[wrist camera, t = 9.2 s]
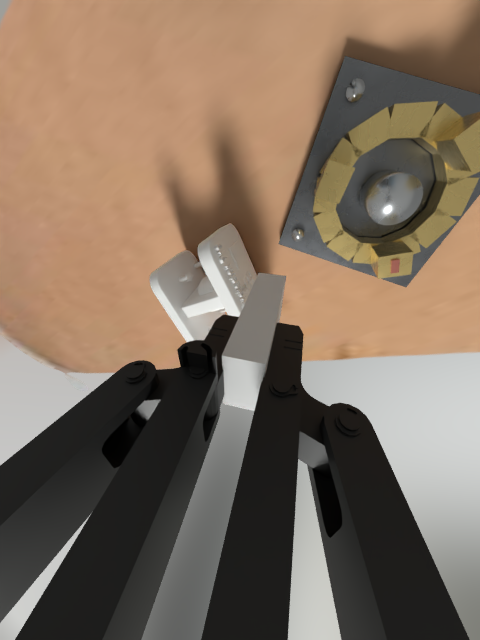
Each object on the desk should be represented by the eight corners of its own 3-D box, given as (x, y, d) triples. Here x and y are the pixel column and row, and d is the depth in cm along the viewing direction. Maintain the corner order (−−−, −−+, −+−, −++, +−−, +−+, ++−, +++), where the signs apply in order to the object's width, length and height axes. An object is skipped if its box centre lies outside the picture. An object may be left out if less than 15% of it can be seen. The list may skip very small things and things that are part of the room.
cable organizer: (181, 244, 38) (138, 272, 29) (238, 217, 33) (209, 241, 24) (222, 318, 44) (198, 361, 35) (274, 305, 40) (262, 350, 31)
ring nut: (289, 215, 30) (283, 228, 24) (385, 67, 21) (409, 37, 16) (379, 277, 31) (393, 302, 26) (505, 162, 22) (564, 164, 17)
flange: (343, 61, 23) (353, 30, 17) (531, 115, 22) (606, 101, 16) (279, 240, 34) (273, 257, 28) (402, 282, 33) (421, 308, 27)
